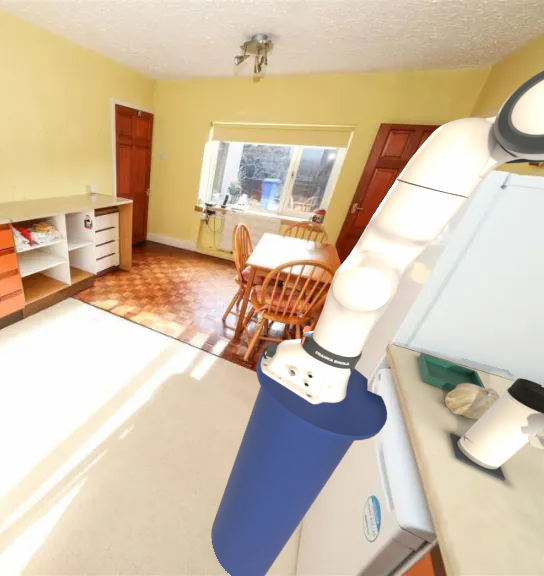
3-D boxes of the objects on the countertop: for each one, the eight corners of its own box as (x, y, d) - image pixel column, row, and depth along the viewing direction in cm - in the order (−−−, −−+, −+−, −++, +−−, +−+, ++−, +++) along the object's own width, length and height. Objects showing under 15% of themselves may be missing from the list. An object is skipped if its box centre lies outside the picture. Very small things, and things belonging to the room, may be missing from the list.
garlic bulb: (465, 414, 70) (502, 390, 66) (484, 437, 63) (526, 411, 59) (427, 390, 73) (460, 366, 69) (441, 409, 66) (479, 383, 62)
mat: (456, 458, 57) (458, 457, 57) (449, 434, 62) (450, 432, 62) (504, 480, 54) (505, 479, 53) (492, 453, 59) (493, 451, 58)
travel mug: (448, 444, 59) (510, 378, 50) (467, 437, 61) (529, 372, 52) (486, 474, 54) (562, 406, 45) (504, 465, 56) (581, 399, 47)
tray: (423, 381, 77) (427, 375, 76) (417, 358, 86) (421, 352, 85) (484, 405, 71) (490, 398, 70) (471, 377, 80) (476, 371, 79)
